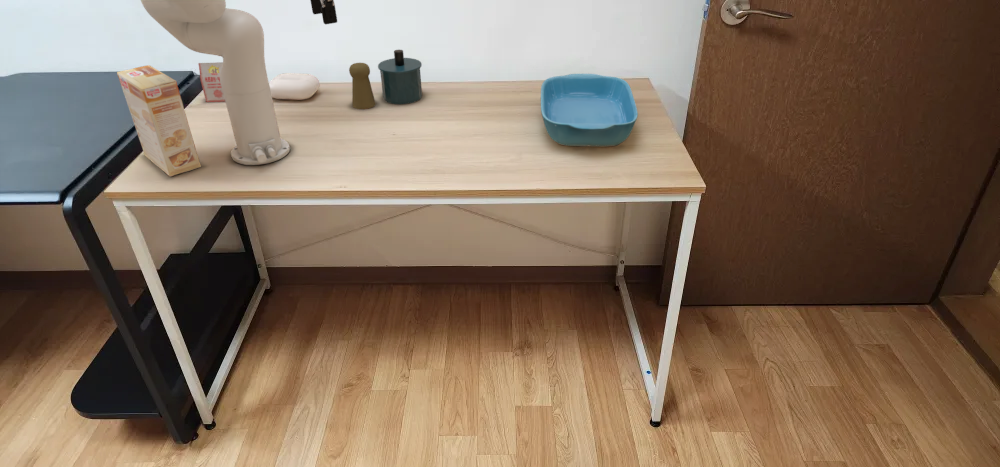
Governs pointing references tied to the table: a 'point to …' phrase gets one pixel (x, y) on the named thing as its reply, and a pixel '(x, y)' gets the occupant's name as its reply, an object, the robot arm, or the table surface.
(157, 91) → the coffeecake box
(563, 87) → the casserole dish
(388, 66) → the pot lid
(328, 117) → the table surface
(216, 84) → the tea bag
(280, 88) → the earbud case
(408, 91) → the pot
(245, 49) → the robot arm
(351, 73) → the pepper mill
